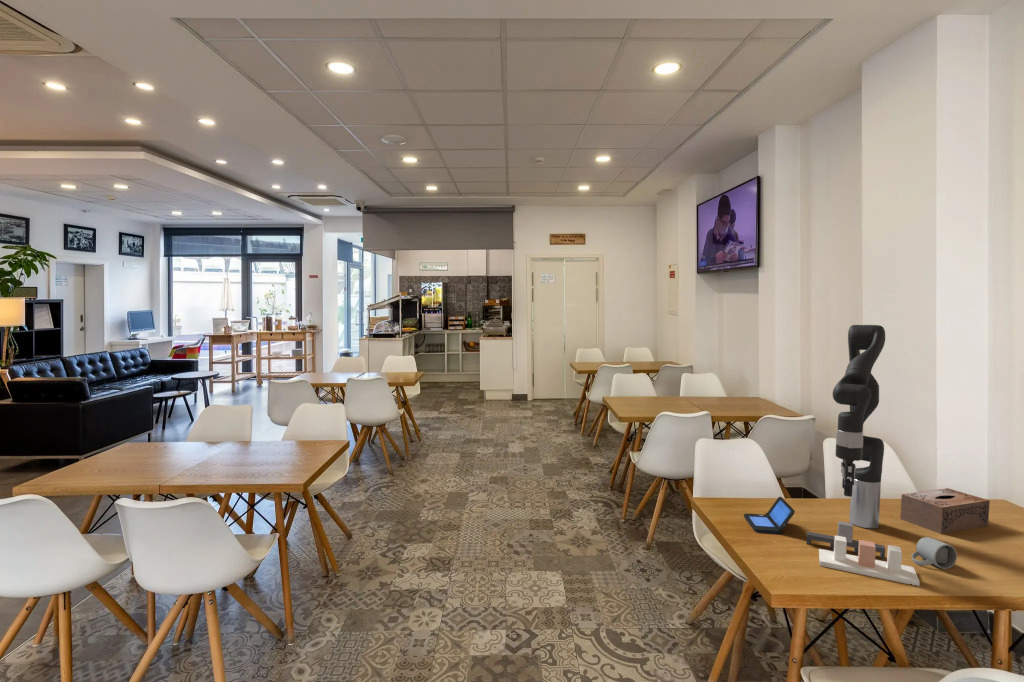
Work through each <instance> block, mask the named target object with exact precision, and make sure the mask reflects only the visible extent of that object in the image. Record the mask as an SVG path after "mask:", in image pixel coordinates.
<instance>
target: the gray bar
mask: <svg viewBox="0 0 1024 682" xmlns="http://www.w3.org/2000/svg"><path fill="white" fill-rule="evenodd" d="M853 531H854V524H852V523H850V522H846V521H841V520H839V521H837V536H842V537H846V541H847V545H846V547H848V548H853V553H854V554H856V555H858V547H859V540H856V539H853V536H854V534H853V533H854V532H853ZM834 539H835V535H834V536H832V535H829V534H823V533H817V532H812V531H808V530H807V531H806V544H807V545H811V540H812V541H817V542H820V543H821V542H822V543H827V544H829V546H830V547H829V548H830V549H832V550H834ZM875 547H876V552H875V553H879V557H880V559H881V560H882V559H883V560H884V559H885V558H886V557H885V556H886V547H885V545H883V544H879V543H875Z"/></svg>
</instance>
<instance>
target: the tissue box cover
mask: <svg viewBox="0 0 1024 682" xmlns="http://www.w3.org/2000/svg"><path fill="white" fill-rule="evenodd" d="M900 500H901V502H900V518H899V519H900V520H902V521H905V522H907V523H911V524H913V525H916V526H918V527H921V528H923V529H927V530H929V531H932V532H934V533H938V534H940V535H943V534H948V533H954V532H960V531H965V530H970V529H977V528H983V527H988V526H989V517H990V504H991V501H990V499H987V498H983V497H981V496H980V497H979V496H977V495H972V494H969V493H966V492H962V491H959V490H956V489H951V488H948V487H947V488H946V487H945V488H938V489H930V490H924V491H916V492H907V493H902V494H901V499H900Z"/></svg>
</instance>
